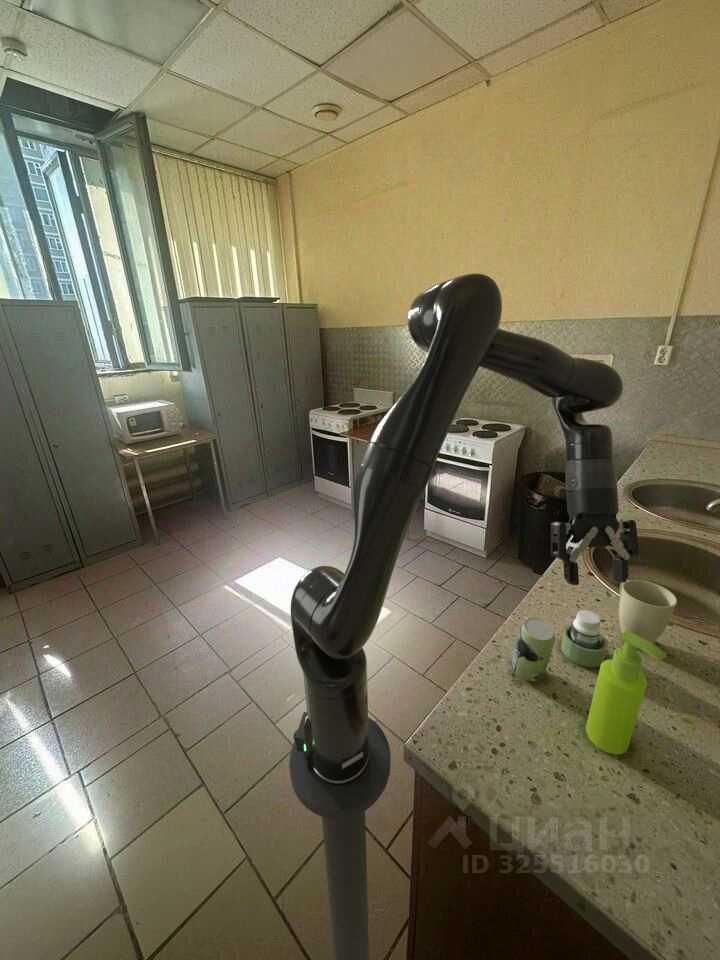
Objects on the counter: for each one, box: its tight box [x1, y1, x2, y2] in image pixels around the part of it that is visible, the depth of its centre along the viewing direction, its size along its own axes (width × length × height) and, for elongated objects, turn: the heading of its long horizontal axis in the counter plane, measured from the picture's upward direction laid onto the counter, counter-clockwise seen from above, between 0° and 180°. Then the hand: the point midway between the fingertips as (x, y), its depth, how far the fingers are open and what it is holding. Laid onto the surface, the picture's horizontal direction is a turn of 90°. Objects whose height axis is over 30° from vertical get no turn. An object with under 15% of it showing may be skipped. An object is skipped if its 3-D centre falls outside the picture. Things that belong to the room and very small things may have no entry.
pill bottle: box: [570, 609, 601, 650], centre depth 78 cm, size 5×5×8 cm
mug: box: [618, 579, 678, 644], centre depth 82 cm, size 11×10×12 cm
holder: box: [560, 623, 608, 668], centre depth 79 cm, size 8×8×4 cm
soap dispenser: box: [585, 630, 668, 756], centre depth 59 cm, size 6×7×20 cm
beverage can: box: [510, 617, 556, 682], centre depth 73 cm, size 6×7×12 cm
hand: (596, 582), depth 66 cm, fingers open, 8 cm apart
